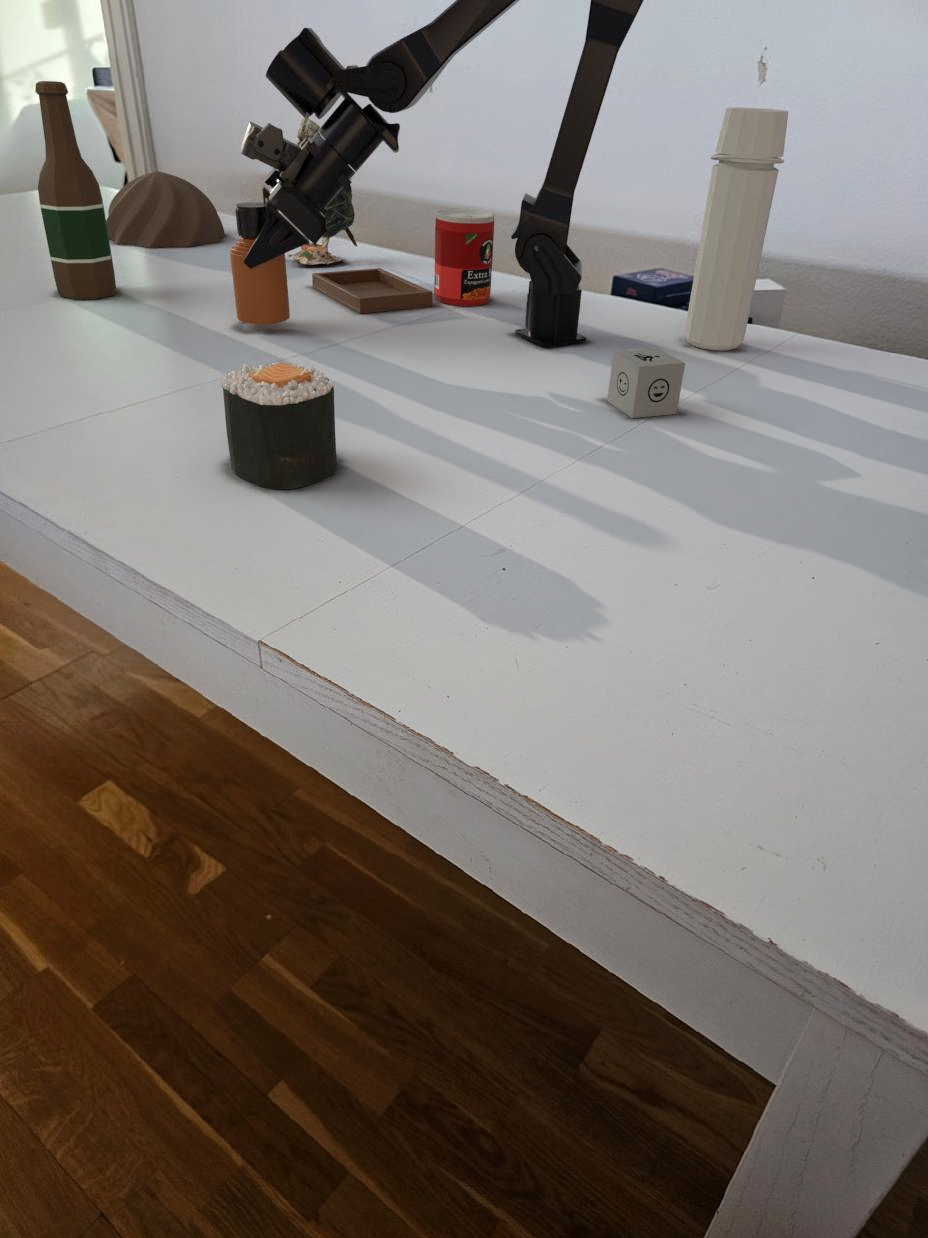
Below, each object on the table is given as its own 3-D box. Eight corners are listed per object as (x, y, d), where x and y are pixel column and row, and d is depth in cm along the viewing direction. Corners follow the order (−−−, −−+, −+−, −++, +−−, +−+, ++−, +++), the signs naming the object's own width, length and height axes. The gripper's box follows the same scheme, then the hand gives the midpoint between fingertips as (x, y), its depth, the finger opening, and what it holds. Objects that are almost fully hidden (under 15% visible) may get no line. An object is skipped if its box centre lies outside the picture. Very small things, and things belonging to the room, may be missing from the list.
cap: (277, 236, 102) (275, 205, 100) (245, 239, 101) (241, 207, 99) (266, 231, 105) (263, 201, 103) (233, 233, 103) (230, 203, 102)
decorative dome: (105, 227, 158) (94, 163, 153) (220, 226, 164) (214, 164, 158) (102, 248, 143) (91, 178, 138) (230, 246, 148) (224, 179, 143)
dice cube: (607, 401, 90) (613, 351, 88) (650, 397, 92) (657, 348, 89) (631, 418, 86) (639, 366, 84) (676, 413, 88) (685, 362, 85)
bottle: (297, 320, 107) (289, 210, 100) (247, 326, 104) (235, 214, 98) (278, 308, 111) (269, 202, 105) (230, 314, 109) (217, 205, 102)
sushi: (287, 441, 78) (281, 348, 74) (355, 467, 74) (353, 371, 69) (211, 467, 73) (199, 369, 68) (280, 497, 68) (272, 395, 64)
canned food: (468, 309, 119) (472, 219, 113) (422, 298, 123) (423, 211, 117) (501, 299, 125) (506, 213, 119) (456, 289, 129) (458, 206, 123)
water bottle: (748, 355, 106) (799, 113, 93) (680, 349, 107) (721, 108, 94) (741, 335, 114) (787, 108, 101) (678, 329, 115) (715, 104, 102)
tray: (432, 306, 120) (432, 291, 119) (360, 313, 115) (359, 298, 114) (380, 281, 131) (380, 267, 130) (312, 287, 126) (311, 273, 125)
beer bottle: (128, 288, 122) (96, 81, 109) (103, 301, 115) (66, 84, 102) (73, 284, 122) (34, 78, 109) (45, 298, 116) (0, 80, 103)
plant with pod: (365, 266, 139) (362, 119, 129) (291, 268, 136) (283, 117, 125) (354, 256, 146) (350, 115, 135) (283, 257, 143) (274, 113, 132)
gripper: (275, 88, 104) (190, 194, 107) (284, 96, 88) (184, 220, 92) (347, 164, 109) (264, 262, 113) (367, 184, 94) (270, 297, 98)
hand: (246, 259), depth 104 cm, fingers closed on bottle, 6 cm apart
